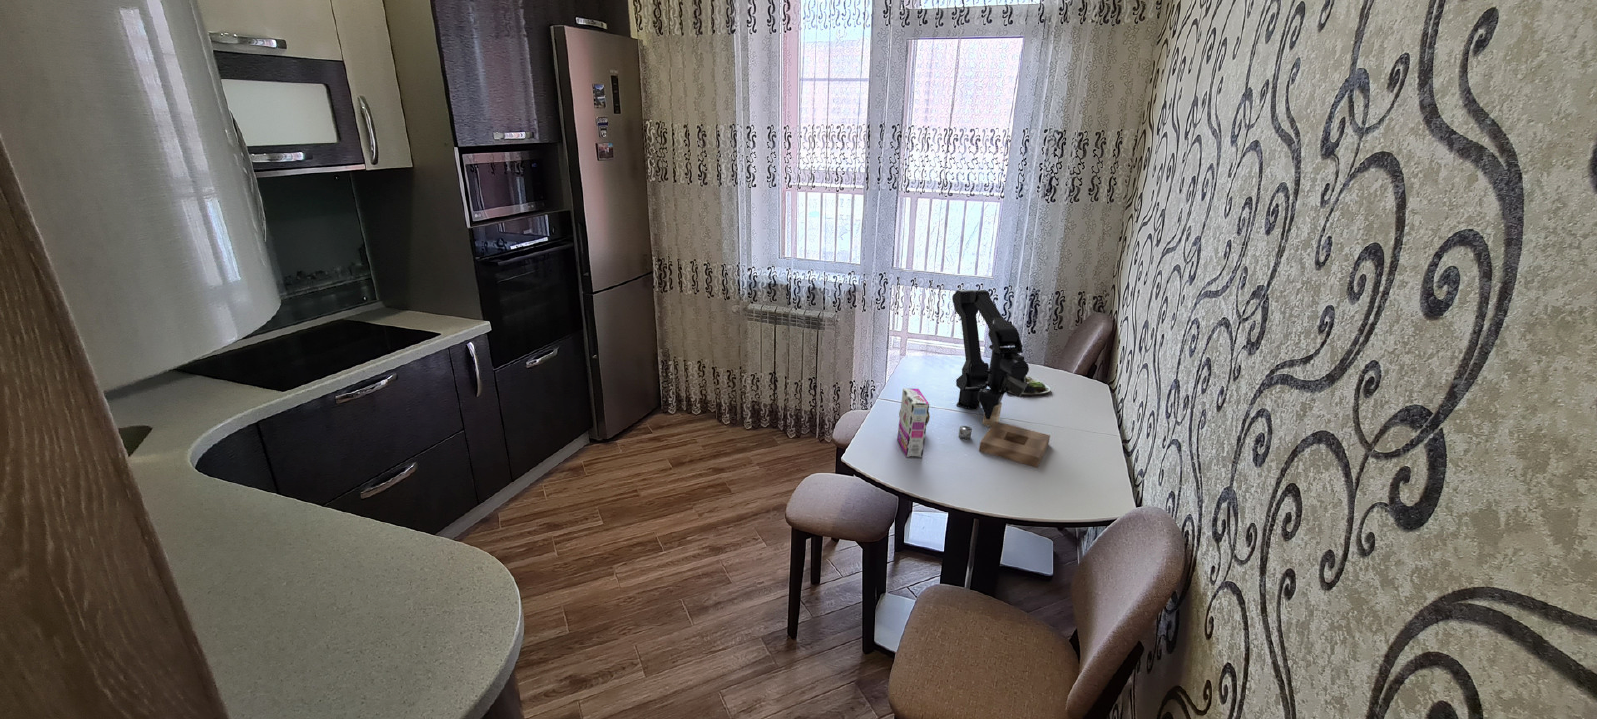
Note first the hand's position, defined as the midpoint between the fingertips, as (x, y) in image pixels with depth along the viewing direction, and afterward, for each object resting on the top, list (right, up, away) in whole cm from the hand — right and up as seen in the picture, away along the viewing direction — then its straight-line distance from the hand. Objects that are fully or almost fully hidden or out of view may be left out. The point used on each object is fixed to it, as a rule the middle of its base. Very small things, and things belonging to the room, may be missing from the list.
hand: (991, 413), depth 191 cm
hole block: (+2, -9, -13) cm, 16 cm away
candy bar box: (-29, -9, -16) cm, 34 cm away
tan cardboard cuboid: (0, -3, +1) cm, 3 cm away
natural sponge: (-26, -5, -6) cm, 27 cm away
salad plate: (+20, +6, +30) cm, 37 cm away
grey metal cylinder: (-11, -6, -8) cm, 15 cm away
